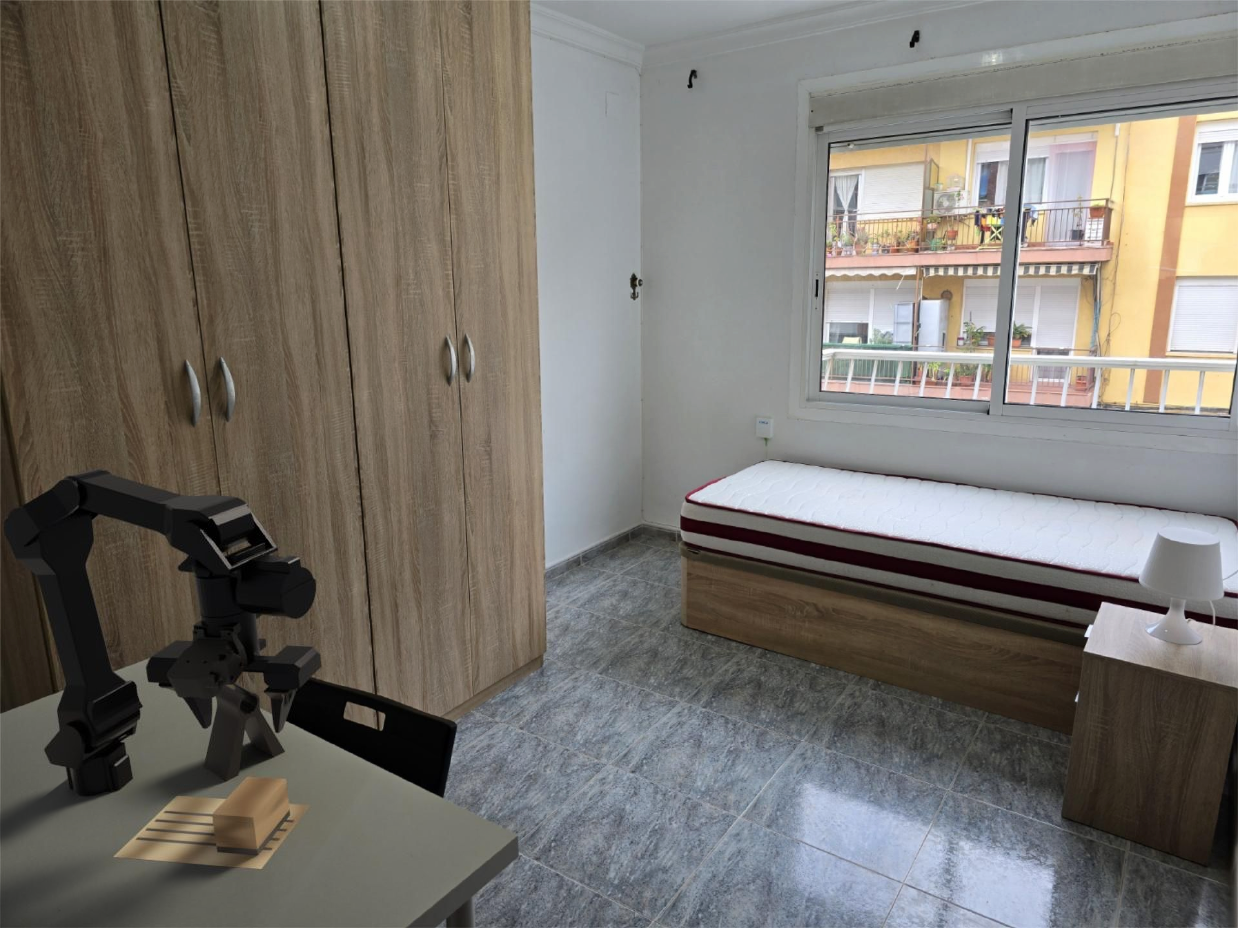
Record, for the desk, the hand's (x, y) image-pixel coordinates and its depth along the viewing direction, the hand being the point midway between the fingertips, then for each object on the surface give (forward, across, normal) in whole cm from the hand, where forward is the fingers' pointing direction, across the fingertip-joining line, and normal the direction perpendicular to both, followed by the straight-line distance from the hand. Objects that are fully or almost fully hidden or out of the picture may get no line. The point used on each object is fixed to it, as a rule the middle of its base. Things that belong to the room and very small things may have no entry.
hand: (243, 729), depth 93 cm
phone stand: (+13, -8, +11) cm, 19 cm away
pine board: (+13, -3, -3) cm, 14 cm away
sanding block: (+12, +2, -3) cm, 12 cm away
